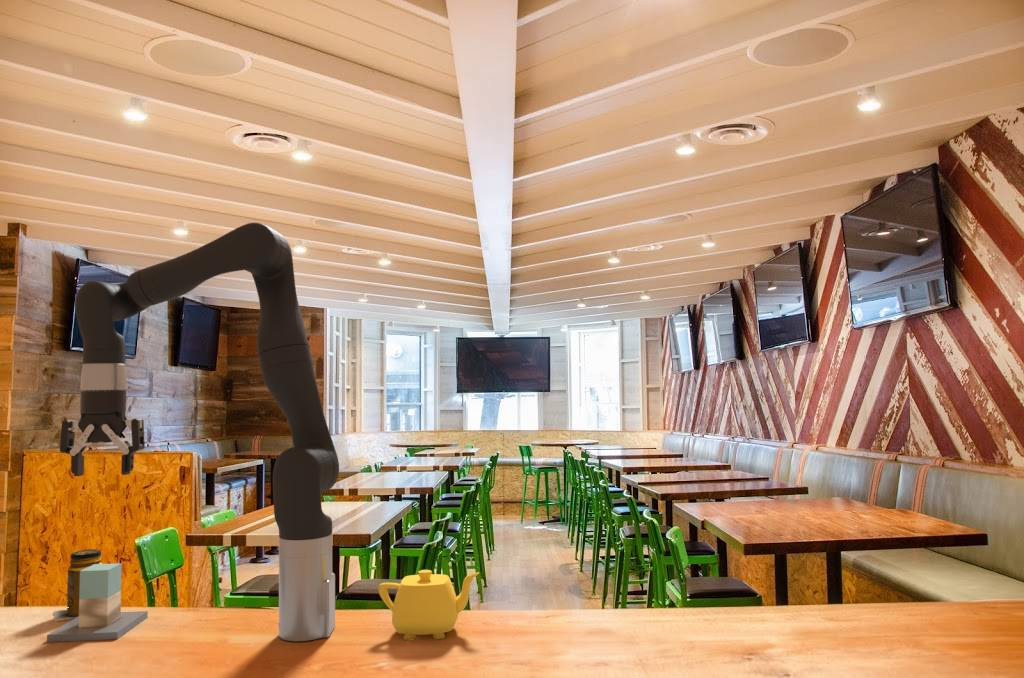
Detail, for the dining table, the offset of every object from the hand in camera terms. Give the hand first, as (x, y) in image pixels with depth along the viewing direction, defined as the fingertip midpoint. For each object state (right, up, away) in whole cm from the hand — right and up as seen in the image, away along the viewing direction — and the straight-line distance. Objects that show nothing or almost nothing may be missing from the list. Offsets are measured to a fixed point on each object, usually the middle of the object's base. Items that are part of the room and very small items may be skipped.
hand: (102, 475), depth 135 cm
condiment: (-9, -29, +8) cm, 32 cm away
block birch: (+1, -27, -2) cm, 27 cm away
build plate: (+1, -28, -2) cm, 28 cm away
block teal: (0, -22, -1) cm, 22 cm away
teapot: (+62, -27, -7) cm, 68 cm away
